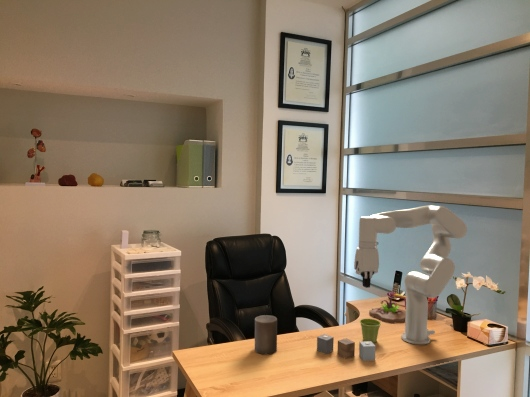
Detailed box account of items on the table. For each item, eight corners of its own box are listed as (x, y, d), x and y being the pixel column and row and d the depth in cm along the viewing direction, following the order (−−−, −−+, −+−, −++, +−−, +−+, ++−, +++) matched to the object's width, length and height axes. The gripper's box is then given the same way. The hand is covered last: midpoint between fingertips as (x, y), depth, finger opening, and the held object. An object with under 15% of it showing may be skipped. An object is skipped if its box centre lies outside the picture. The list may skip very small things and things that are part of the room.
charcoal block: (323, 347, 182) (324, 333, 182) (333, 350, 178) (333, 336, 178) (316, 350, 178) (317, 336, 178) (326, 354, 175) (326, 339, 174)
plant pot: (381, 345, 185) (381, 326, 184) (359, 343, 187) (359, 324, 186) (379, 337, 194) (380, 319, 193) (358, 335, 196) (359, 317, 195)
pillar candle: (281, 351, 176) (281, 317, 176) (261, 356, 171) (262, 320, 171) (269, 344, 185) (269, 310, 184) (250, 348, 180) (250, 314, 179)
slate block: (370, 355, 175) (371, 340, 174) (375, 360, 170) (375, 345, 169) (359, 355, 174) (359, 341, 174) (363, 360, 169) (363, 345, 169)
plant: (417, 320, 220) (418, 299, 220) (390, 325, 211) (391, 303, 211) (390, 309, 238) (391, 289, 237) (364, 313, 229) (364, 293, 228)
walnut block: (346, 352, 177) (346, 338, 177) (354, 356, 173) (354, 342, 173) (337, 354, 175) (337, 340, 175) (345, 359, 171) (345, 344, 170)
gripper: (376, 243, 186) (375, 283, 187) (348, 244, 180) (346, 286, 181) (387, 245, 179) (385, 287, 180) (357, 247, 173) (356, 290, 174)
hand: (366, 286), depth 181 cm, fingers closed
